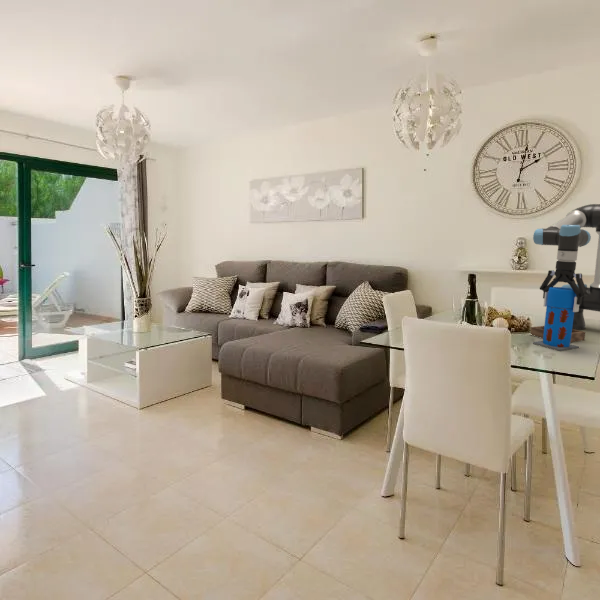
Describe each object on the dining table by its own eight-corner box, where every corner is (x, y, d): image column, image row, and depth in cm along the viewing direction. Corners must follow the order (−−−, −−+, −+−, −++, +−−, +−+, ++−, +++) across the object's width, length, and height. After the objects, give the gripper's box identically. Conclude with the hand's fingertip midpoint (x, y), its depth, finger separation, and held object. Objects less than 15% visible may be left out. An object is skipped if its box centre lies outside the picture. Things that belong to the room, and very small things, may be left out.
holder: (551, 332, 229) (552, 324, 229) (584, 340, 215) (585, 331, 214) (530, 335, 222) (531, 327, 221) (562, 343, 207) (563, 334, 207)
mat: (551, 341, 211) (551, 339, 211) (578, 348, 200) (579, 346, 200) (532, 343, 205) (533, 342, 205) (560, 351, 194) (560, 349, 194)
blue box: (573, 348, 196) (581, 291, 192) (546, 346, 198) (553, 289, 194) (564, 342, 206) (571, 287, 202) (539, 340, 209) (545, 286, 204)
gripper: (534, 258, 205) (529, 304, 209) (590, 263, 183) (583, 314, 187) (545, 258, 209) (540, 303, 212) (601, 263, 187) (594, 313, 191)
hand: (560, 309), depth 200 cm, fingers open, 13 cm apart
